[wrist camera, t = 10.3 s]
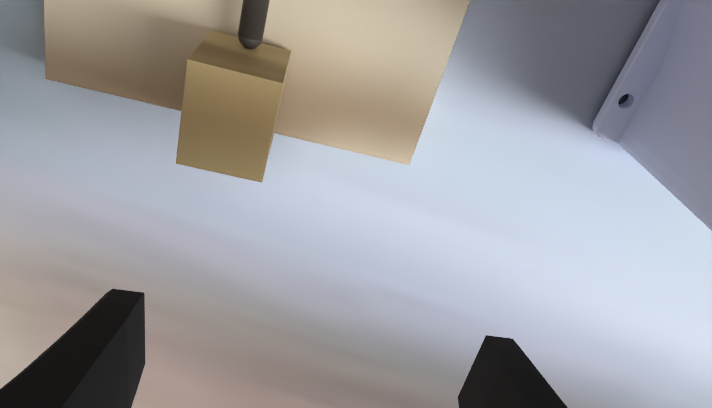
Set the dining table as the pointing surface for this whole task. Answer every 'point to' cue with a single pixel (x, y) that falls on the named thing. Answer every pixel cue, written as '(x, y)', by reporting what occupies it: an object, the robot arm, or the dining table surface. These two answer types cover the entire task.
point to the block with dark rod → (233, 98)
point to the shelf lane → (284, 30)
